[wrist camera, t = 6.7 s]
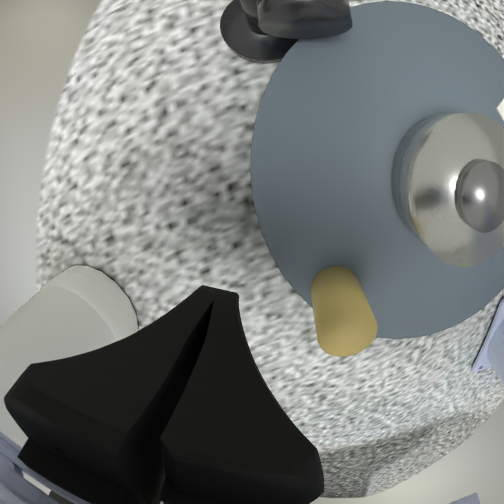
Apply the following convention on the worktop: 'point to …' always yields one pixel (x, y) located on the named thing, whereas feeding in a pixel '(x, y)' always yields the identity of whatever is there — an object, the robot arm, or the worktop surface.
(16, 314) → the bottle
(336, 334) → the turntable
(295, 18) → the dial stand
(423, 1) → the worktop surface
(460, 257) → the cover
